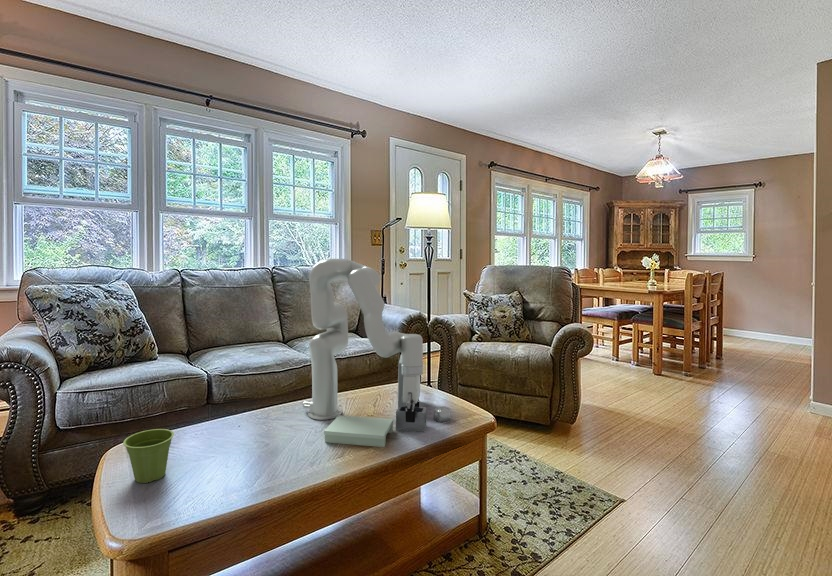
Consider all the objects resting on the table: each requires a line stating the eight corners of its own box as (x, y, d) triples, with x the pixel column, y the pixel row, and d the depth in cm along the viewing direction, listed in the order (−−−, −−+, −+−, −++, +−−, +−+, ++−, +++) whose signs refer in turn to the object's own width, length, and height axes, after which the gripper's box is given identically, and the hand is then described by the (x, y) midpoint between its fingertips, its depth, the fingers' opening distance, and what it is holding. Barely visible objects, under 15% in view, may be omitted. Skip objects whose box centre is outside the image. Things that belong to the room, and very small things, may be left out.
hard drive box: (417, 413, 168) (417, 363, 166) (397, 413, 168) (397, 363, 166) (417, 400, 183) (418, 354, 182) (399, 400, 183) (400, 353, 182)
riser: (324, 442, 142) (324, 431, 141) (338, 426, 155) (338, 415, 155) (383, 447, 138) (383, 435, 138) (393, 430, 152) (393, 419, 152)
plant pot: (120, 492, 112) (118, 450, 111) (129, 471, 122) (128, 432, 121) (172, 483, 116) (171, 442, 115) (177, 463, 127) (176, 426, 126)
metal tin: (433, 422, 160) (433, 411, 160) (435, 416, 166) (435, 406, 165) (449, 423, 159) (449, 412, 159) (450, 417, 165) (450, 407, 164)
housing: (395, 430, 152) (396, 411, 151) (399, 424, 158) (399, 405, 157) (424, 433, 150) (424, 413, 150) (426, 426, 156) (426, 407, 156)
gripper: (406, 363, 161) (406, 407, 163) (396, 375, 144) (397, 425, 146) (426, 363, 160) (426, 408, 161) (418, 376, 143) (419, 426, 144)
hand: (412, 416), depth 154 cm, fingers open, 9 cm apart
